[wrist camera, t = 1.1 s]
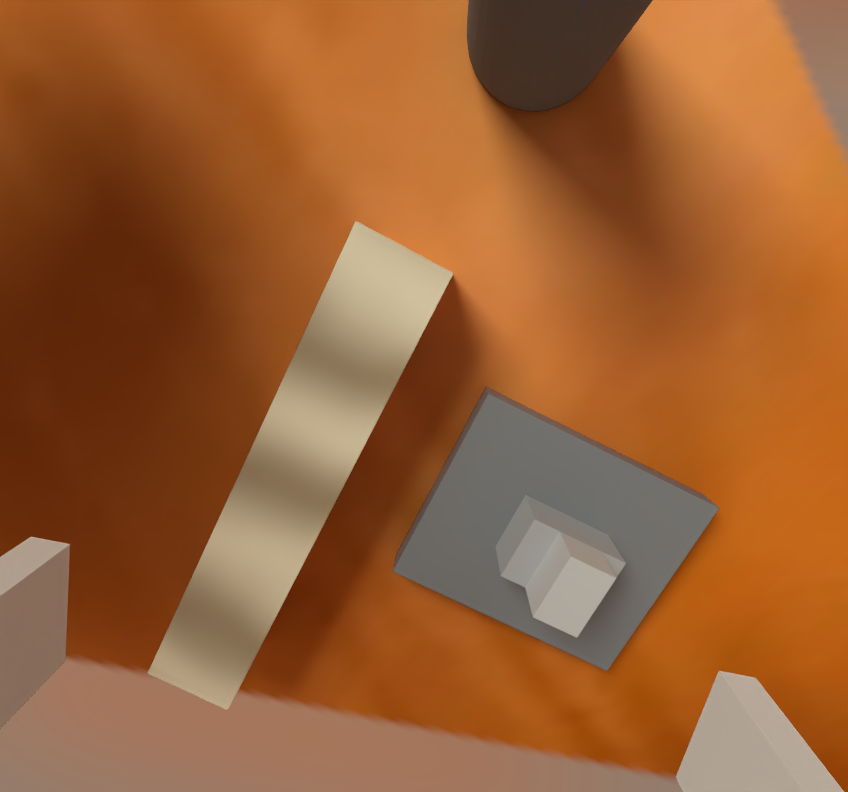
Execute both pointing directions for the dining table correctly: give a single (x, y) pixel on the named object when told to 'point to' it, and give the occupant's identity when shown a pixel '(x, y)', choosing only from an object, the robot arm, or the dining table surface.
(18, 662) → the robot arm
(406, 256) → the beam
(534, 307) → the dining table surface
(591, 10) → the bottle
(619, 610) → the fulcrum
